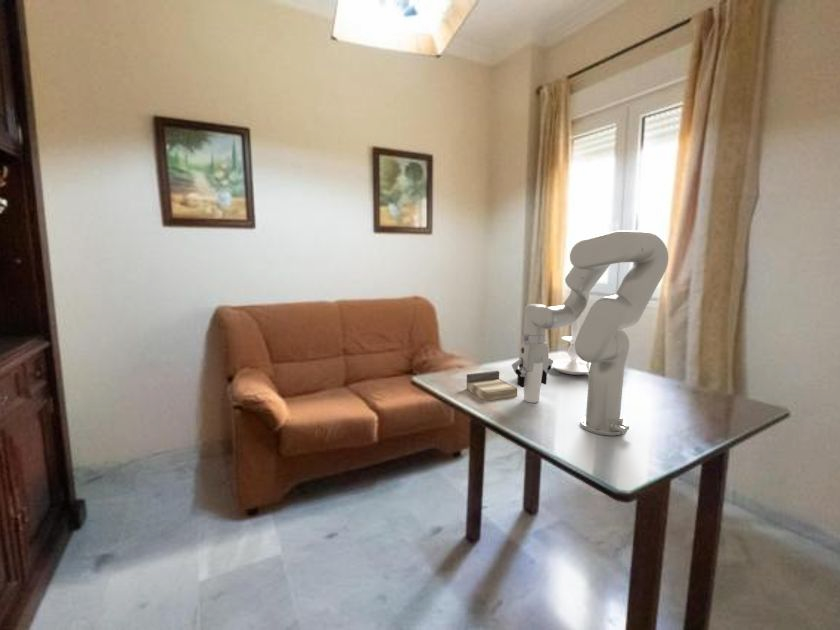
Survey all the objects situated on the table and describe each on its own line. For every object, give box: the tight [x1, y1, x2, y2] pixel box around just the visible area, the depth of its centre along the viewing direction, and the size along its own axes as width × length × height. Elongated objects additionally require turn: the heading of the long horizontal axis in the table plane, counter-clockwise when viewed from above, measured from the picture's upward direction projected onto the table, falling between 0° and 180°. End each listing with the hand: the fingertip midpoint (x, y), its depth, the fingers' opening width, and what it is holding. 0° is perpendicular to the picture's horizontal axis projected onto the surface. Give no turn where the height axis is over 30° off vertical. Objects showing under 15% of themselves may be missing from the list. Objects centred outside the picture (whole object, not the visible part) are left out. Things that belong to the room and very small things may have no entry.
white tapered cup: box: [523, 362, 543, 404], centre depth 147 cm, size 7×7×15 cm
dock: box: [466, 370, 518, 402], centre depth 156 cm, size 14×14×6 cm
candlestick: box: [551, 314, 591, 376], centre depth 180 cm, size 21×25×28 cm
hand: (531, 384), depth 147 cm, fingers open, 9 cm apart
